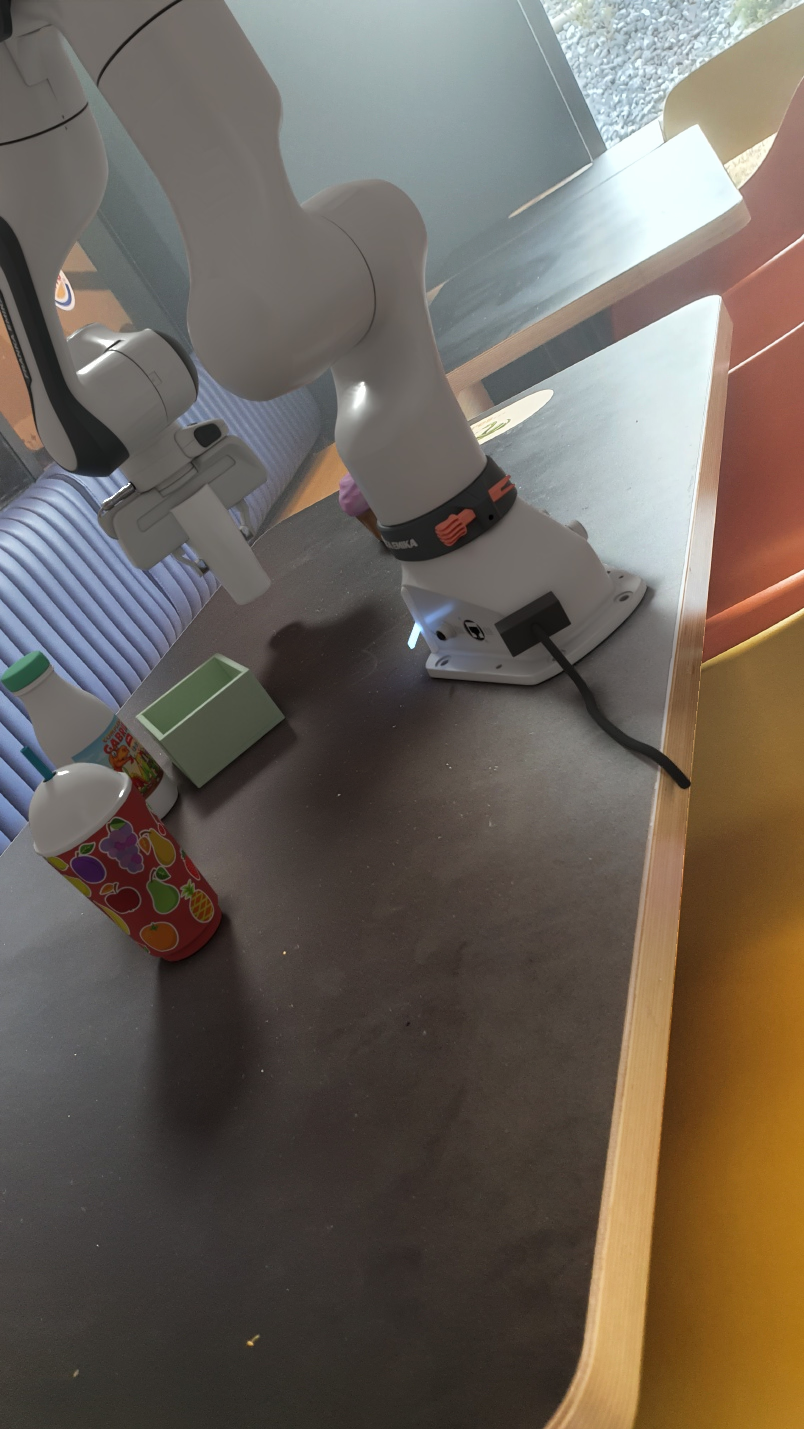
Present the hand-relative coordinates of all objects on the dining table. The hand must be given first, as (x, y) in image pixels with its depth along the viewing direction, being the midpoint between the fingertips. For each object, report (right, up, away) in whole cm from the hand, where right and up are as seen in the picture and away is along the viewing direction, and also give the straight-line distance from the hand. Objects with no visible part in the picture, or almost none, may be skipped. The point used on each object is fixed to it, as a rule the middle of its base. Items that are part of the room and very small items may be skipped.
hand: (228, 555), depth 121 cm
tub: (+3, -23, -17) cm, 28 cm away
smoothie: (+5, -37, -44) cm, 58 cm away
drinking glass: (+3, -5, +3) cm, 6 cm away
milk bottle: (-4, -30, -21) cm, 37 cm away
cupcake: (+21, +5, +10) cm, 24 cm away
